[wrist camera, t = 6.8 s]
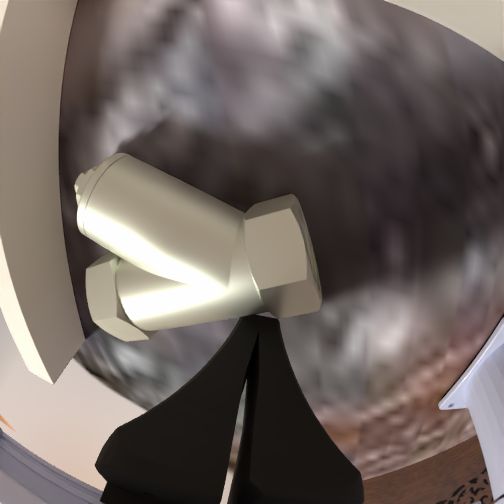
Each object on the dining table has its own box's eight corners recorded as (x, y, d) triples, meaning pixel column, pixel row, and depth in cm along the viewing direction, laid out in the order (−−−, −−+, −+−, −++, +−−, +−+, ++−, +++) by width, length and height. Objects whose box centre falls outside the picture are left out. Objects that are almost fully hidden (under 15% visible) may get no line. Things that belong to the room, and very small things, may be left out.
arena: (538, 52, 5) (597, 53, 2) (399, 403, 15) (410, 456, 12) (60, -31, 6) (4, -47, 3) (61, 330, 16) (29, 371, 12)
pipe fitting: (94, 173, 12) (151, 305, 14) (32, 194, 8) (112, 356, 10) (267, 99, 9) (319, 268, 12) (250, 81, 6) (324, 328, 8)
